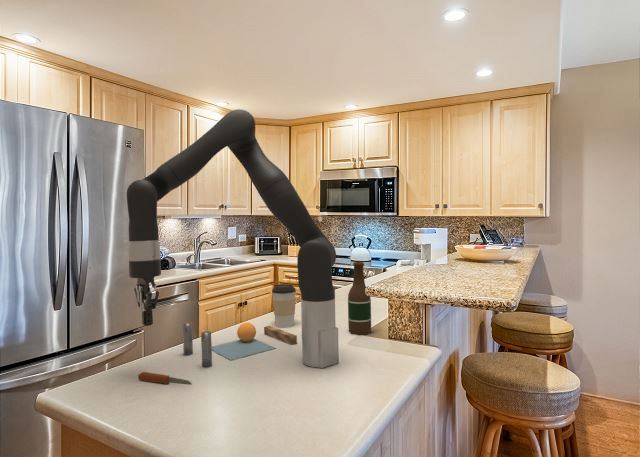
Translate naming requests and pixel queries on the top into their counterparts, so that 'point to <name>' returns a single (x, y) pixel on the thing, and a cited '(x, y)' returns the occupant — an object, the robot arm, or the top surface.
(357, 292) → the beer bottle
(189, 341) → the left post
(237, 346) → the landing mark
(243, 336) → the ball
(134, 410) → the top surface
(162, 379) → the kitchen knife
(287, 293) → the coffee cup
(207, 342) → the right post
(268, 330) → the wall
